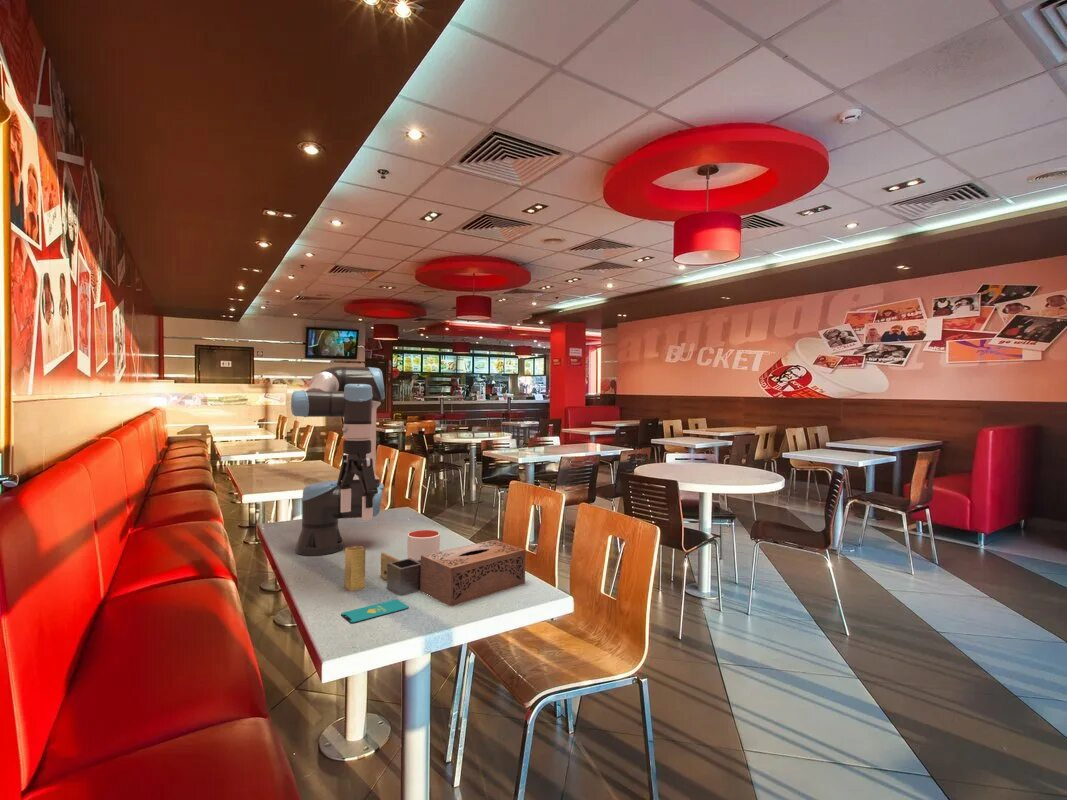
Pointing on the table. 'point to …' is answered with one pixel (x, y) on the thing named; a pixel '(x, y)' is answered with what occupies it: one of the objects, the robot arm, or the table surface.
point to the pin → (354, 568)
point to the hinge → (401, 574)
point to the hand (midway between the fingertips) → (356, 515)
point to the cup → (422, 543)
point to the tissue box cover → (472, 571)
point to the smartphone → (374, 611)
